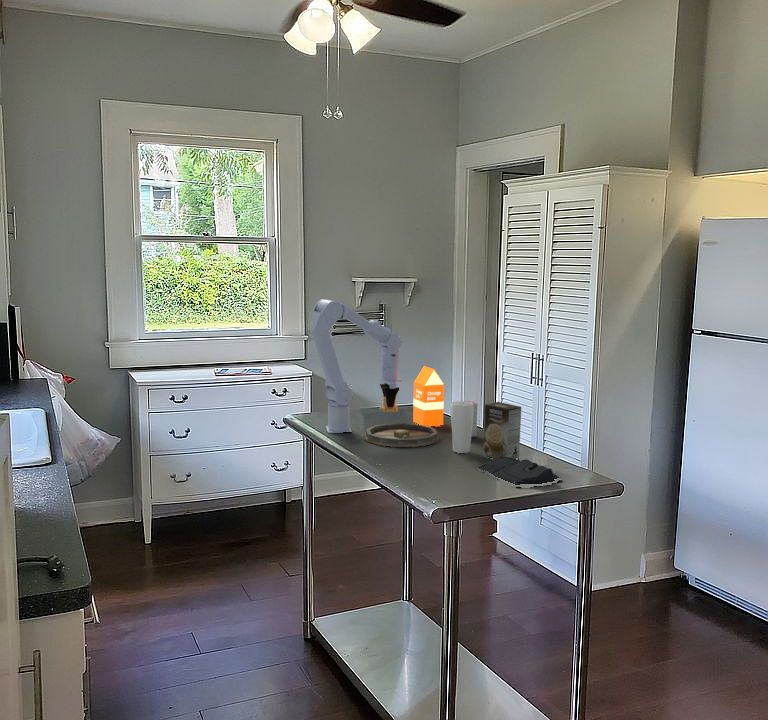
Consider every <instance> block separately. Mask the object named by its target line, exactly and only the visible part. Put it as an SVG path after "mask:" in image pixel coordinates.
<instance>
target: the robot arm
mask: <svg viewBox="0 0 768 720" xmlns="http://www.w3.org/2000/svg"><path fill="white" fill-rule="evenodd" d="M312 312H313V316H312V320H311V328H310V331H311V334H312V337H313V339H314V343H315V347H316V350H317V353H318V357H319V359H320V362H321V366H322V369H323V372H324V377H325V381H324V385H325V391H324V392H325V397H326V399H327V400H328V403H327V404H328V405H327V406H328V407H327V409H328V411H327V413H328V414H327V416H328V417H327V423H328V424H327V425H325V428H326V431H327V433H328V434H344V433H343V432H352V433H353V430H352V429H351V424H350V423H351V422H350V421H351V419H350V418H351V417H350V416H351V415H350V414H351V406H350V405H351V403H352V401H353V398H354V392H353V390H352V389H351V388H350V387H349V385H348V382H347V380H346V379H345V378H344V377H343V374H342V372H341V369H340V365H339V362H338V358H337V355H336V353H335V348H334V345H333V342H332V338H331V335H330V333H329V331H330V330H331V328H332V327H333V325H334V324H335V323H336V322H337V321H339V320H340V319H343V320H344V319H345V320H347V321H349V322H350V323H352V324H354V325H355V326H358V327H359V328H361V329H362V330H363V334H364V335H365V336H367V337H368V338H369V339H371V340H373V341H374V342H376V343H378V345H379V346H380V347H381V365H380V366H381V367H380V368H381V369H380V370H381V371H380V372H381V374H380V376H381V378H380V384H379V386H380V388H381V391H382V395H383V397H385V396H386V404H387V407H394V403H395V399H396V400H397V394H398V392H399V391H400V387H397V384H398V383H400V382H402V379H401V378H399V352H400V351H399V349H400V347H401V345H402V343H403V341H402V340H401V337H400V335H399V334H398V333H396V332H392V331H391V328H389V327H386V326H384V325H382V324H381V321H380V320H378V319H371V320H368V319H366V318H365V317H364V316H362V315H361V314H359V313H357V312H356V311H355V310H353V308H350V307H349V306H348V305H347V304H343V303H341V302H340V301H338V300H329V299H326V298H323V299H320V300H318V301H317V302H316V304H315V305H314V307H313V308H312Z"/></svg>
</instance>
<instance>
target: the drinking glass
mask: <svg viewBox="0 0 768 720" xmlns="http://www.w3.org/2000/svg"><path fill="white" fill-rule="evenodd" d="M466 401H467V400H460V401H459V400H458V401H453V402H451V406H450V424H451V439H452V452H453V451H454V452H453V453H455V452H457V453H456V454H459V453H466V454H469V453H470V452H471V444H472V443H471V442H472V438H471V435H472V426H473V416H474V404H473V403H472V402H473V401H471V402H466ZM468 452H469V453H468Z"/></svg>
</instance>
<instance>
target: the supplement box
mask: <svg viewBox="0 0 768 720" xmlns="http://www.w3.org/2000/svg"><path fill="white" fill-rule="evenodd" d="M465 401H466V402H472V403H473V404H474V416H473V426H472V435H471V439H476V438H477V434H478V433H477V431H478V429H477V428H478V403H477V402H473V401H470V400H465Z"/></svg>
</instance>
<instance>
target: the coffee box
mask: <svg viewBox="0 0 768 720" xmlns="http://www.w3.org/2000/svg"><path fill="white" fill-rule="evenodd" d="M521 421H522V406H518V405H514V404H509V403H506V402H501V401H495V402H491V403H486V404H485V405H484V423H483V424H484V430H483V454H482V456H485V457H489V458H493V459H495V458H497V457H500V456H503V457H511V458H513V459H516V458H519V459H520V447H521V446H520V445H521V444H520V443H521V427H522V426H521Z"/></svg>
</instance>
